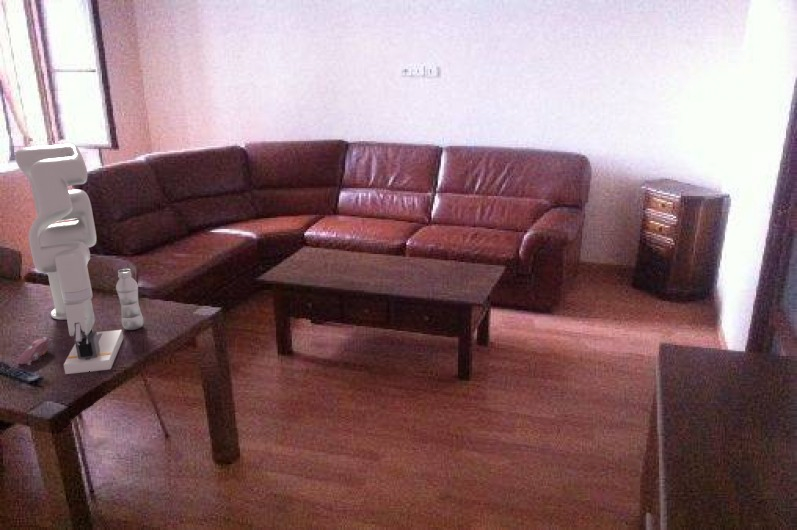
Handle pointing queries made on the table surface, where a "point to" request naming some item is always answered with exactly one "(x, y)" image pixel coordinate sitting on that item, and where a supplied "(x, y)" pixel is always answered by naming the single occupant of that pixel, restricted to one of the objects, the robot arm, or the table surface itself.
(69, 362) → the fader console
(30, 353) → the pink toy car
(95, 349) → the fader tab
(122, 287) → the plastic bottle
